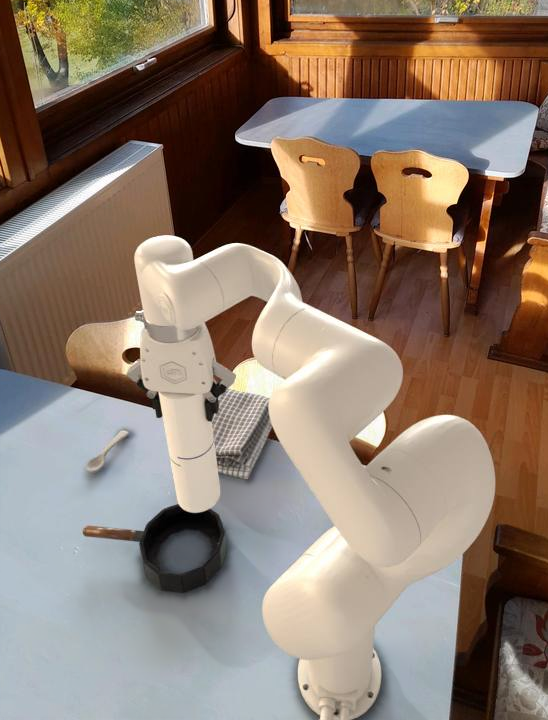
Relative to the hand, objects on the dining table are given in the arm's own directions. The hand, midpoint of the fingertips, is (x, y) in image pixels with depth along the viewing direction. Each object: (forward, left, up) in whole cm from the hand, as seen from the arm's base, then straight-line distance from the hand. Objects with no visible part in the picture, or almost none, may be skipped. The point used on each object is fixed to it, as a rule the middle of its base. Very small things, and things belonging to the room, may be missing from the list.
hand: (186, 412), depth 102 cm
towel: (+24, +1, -33) cm, 41 cm away
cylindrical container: (0, 0, -19) cm, 19 cm away
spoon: (+18, +25, -33) cm, 46 cm away
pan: (-2, +9, -33) cm, 34 cm away
